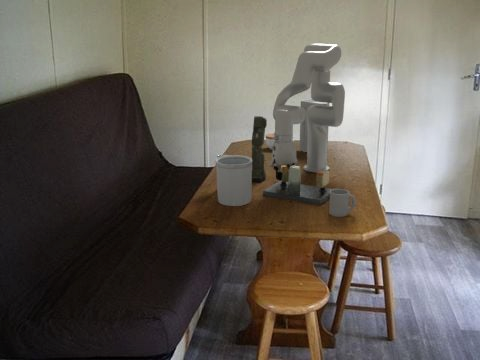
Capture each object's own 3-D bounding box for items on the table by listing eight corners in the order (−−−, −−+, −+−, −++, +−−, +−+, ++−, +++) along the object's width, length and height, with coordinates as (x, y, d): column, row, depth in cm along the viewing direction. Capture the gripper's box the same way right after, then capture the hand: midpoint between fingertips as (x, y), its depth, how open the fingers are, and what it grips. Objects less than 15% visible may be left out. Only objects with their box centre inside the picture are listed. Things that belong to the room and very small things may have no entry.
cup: (327, 210, 218) (328, 188, 215) (353, 210, 218) (355, 188, 215) (330, 217, 211) (331, 194, 208) (357, 217, 211) (358, 194, 208)
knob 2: (323, 186, 240) (323, 167, 237) (329, 187, 238) (329, 168, 236) (316, 191, 233) (316, 172, 231) (322, 192, 232) (322, 173, 229)
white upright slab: (301, 146, 322) (302, 97, 314) (327, 147, 319) (329, 98, 310) (297, 154, 304) (298, 102, 296) (325, 155, 301) (327, 103, 293)
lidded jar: (275, 152, 310) (275, 135, 307) (261, 148, 317) (261, 132, 314) (288, 148, 317) (288, 132, 314) (274, 145, 324) (274, 129, 321)
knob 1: (279, 181, 248) (279, 163, 245) (285, 180, 248) (285, 162, 246) (282, 186, 240) (282, 167, 238) (288, 186, 240) (288, 167, 238)
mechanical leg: (262, 183, 250) (265, 115, 249) (246, 182, 252) (249, 115, 250) (267, 181, 264) (270, 117, 262) (252, 181, 265) (254, 117, 263)
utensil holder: (240, 209, 220) (239, 166, 215) (209, 202, 228) (208, 161, 223) (259, 199, 232) (259, 157, 227) (229, 193, 240) (228, 153, 235)
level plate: (279, 185, 250) (279, 156, 246) (334, 193, 238) (336, 163, 234) (262, 195, 237) (263, 164, 233) (320, 204, 224) (322, 172, 221)
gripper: (272, 142, 232) (271, 184, 237) (305, 137, 240) (304, 178, 245) (262, 138, 238) (262, 179, 243) (295, 133, 246) (294, 173, 251)
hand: (283, 178), depth 244 cm, fingers closed on knob 1, 4 cm apart
